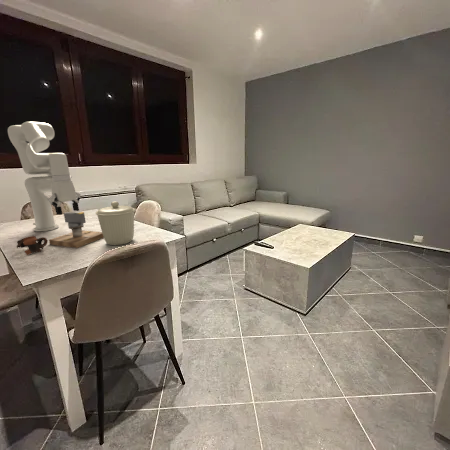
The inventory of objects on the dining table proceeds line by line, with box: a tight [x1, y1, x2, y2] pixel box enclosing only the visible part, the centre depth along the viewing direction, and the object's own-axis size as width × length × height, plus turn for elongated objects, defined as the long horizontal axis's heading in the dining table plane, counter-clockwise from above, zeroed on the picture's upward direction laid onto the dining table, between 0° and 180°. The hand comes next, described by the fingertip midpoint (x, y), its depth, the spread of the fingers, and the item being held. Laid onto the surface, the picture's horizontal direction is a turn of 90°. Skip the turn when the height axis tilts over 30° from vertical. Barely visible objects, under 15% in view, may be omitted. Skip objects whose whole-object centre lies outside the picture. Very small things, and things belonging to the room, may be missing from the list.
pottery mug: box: [16, 235, 49, 256], centre depth 116 cm, size 12×10×8 cm
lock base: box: [48, 227, 104, 249], centre depth 130 cm, size 18×18×7 cm
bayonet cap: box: [63, 211, 86, 230], centre depth 128 cm, size 11×7×8 cm, turn 72°
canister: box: [95, 200, 136, 246], centre depth 124 cm, size 18×18×21 cm
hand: (68, 212), depth 127 cm, fingers open, 9 cm apart
